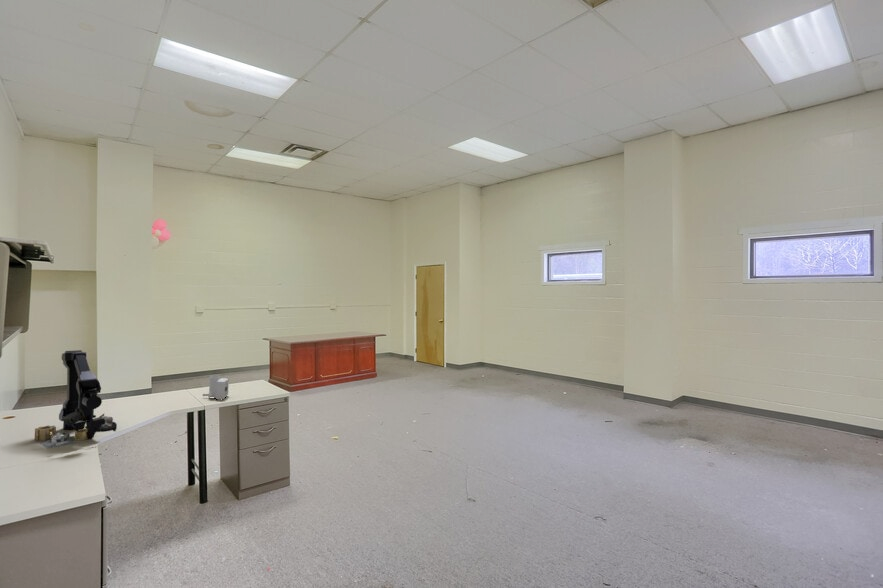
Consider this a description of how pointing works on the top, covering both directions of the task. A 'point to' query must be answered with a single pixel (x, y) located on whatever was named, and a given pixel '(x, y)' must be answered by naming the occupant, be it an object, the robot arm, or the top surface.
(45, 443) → the plate
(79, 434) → the planet gear
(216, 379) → the grey block housing
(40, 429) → the seated gear
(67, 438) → the sun gear
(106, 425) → the caster wheel
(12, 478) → the top surface
